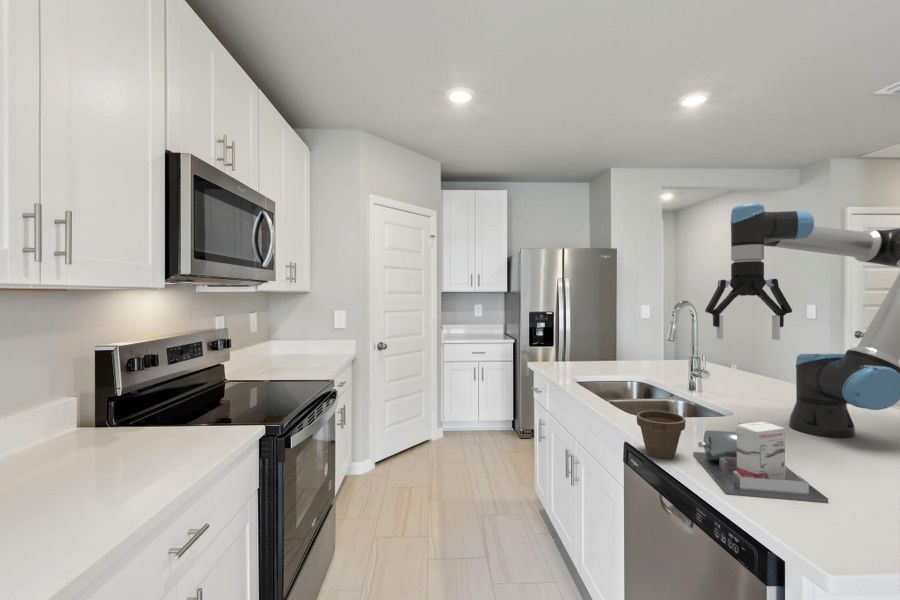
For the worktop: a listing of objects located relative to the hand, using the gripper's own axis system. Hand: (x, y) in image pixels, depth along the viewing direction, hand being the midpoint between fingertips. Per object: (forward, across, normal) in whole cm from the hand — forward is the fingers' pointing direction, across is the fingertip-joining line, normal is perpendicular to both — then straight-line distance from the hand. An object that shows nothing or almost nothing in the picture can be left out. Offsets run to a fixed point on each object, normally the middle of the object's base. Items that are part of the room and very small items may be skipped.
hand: (747, 339), depth 122 cm
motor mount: (+29, +8, +24) cm, 38 cm away
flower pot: (+29, +25, +14) cm, 41 cm away
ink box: (+28, +8, +28) cm, 41 cm away
